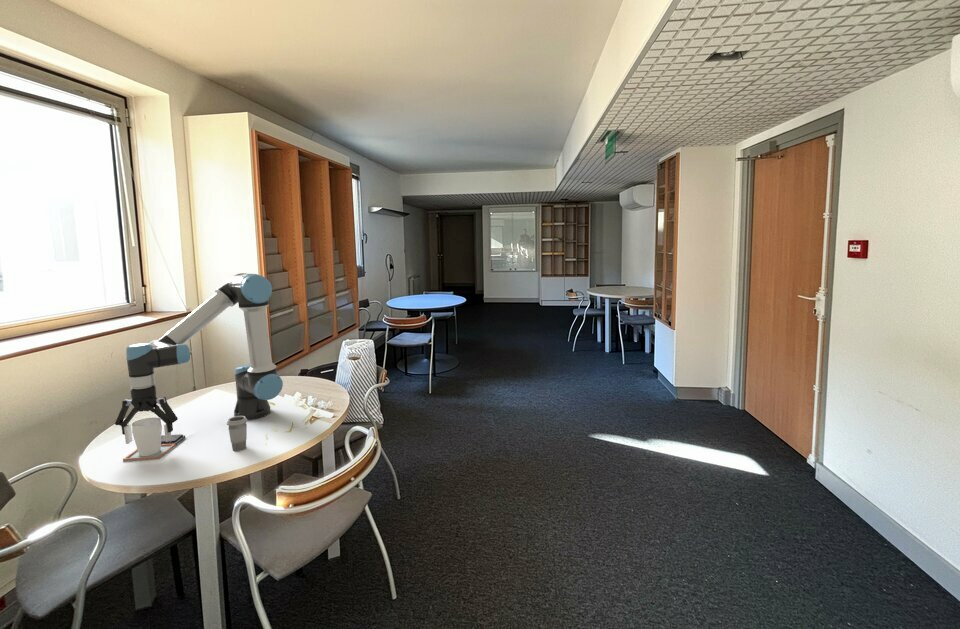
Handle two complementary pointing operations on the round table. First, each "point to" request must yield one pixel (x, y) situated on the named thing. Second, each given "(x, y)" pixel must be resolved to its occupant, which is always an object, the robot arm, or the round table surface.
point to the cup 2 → (238, 432)
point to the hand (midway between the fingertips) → (149, 441)
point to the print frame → (136, 457)
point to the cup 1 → (147, 435)
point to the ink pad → (173, 439)
